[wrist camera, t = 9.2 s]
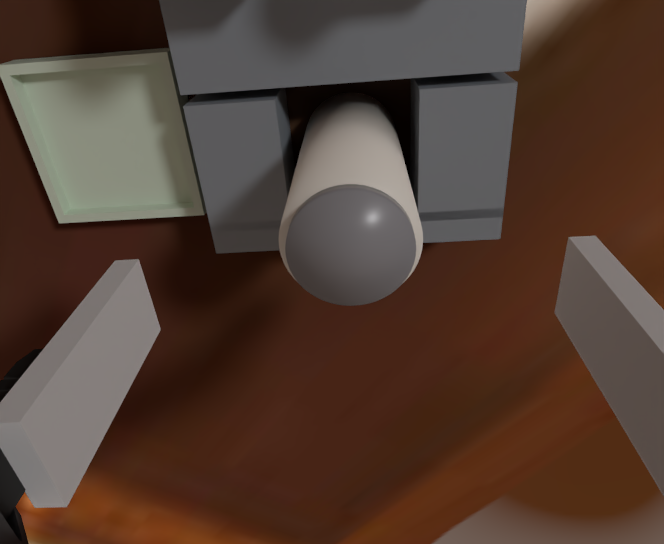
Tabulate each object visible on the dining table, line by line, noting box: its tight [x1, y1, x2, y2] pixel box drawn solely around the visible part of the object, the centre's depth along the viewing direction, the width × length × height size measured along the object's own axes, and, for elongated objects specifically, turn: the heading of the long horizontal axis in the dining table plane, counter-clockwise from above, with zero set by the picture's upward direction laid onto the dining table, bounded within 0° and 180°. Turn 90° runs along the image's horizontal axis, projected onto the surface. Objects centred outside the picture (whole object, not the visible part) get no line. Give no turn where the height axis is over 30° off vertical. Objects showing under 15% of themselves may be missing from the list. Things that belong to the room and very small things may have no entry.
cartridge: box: [279, 92, 423, 305], centre depth 22 cm, size 5×5×13 cm
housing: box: [159, 0, 527, 254], centre depth 22 cm, size 18×15×7 cm
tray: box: [0, 48, 207, 223], centre depth 27 cm, size 9×9×2 cm
